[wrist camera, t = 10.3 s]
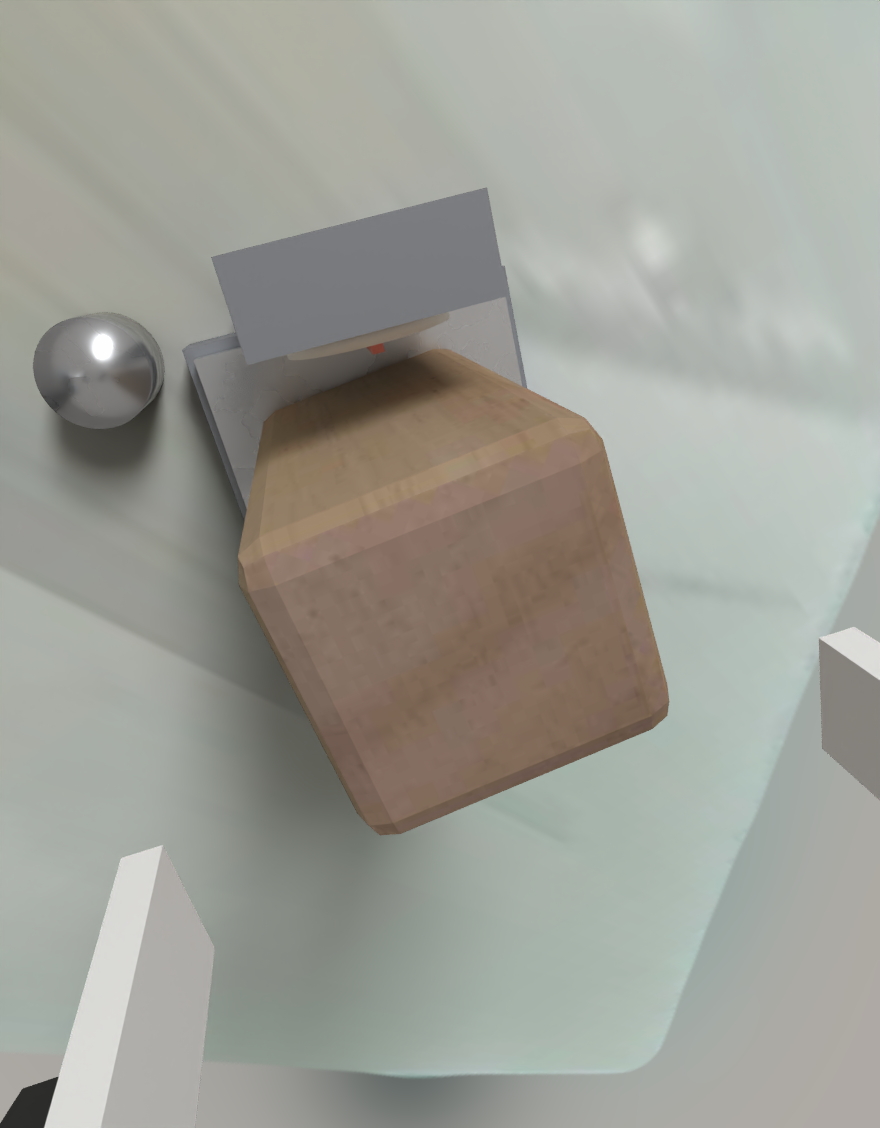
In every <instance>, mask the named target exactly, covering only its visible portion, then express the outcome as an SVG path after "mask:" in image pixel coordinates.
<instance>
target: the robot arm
mask: <svg viewBox="0 0 880 1128" xmlns="http://www.w3.org/2000/svg"><path fill="white" fill-rule="evenodd" d="M819 659H820V690H821V720H822V721H821V724H822V749H823V750H824V751H826V752H827V753H828V754H829V755H830V756H831V757H832V758H833V759H834V760H836V761H837V762H838V763H839V764H840V765H841V766H842V767H843V768H844V769H845V770H847V771H848V772H849V773H850V774H851V775H852V776H853V777H854V778H856V779H857V780H858V781H859V782H860V783H861V784H862V785H864V786H865V787H866V788H867V789H868V790H869V791H870V792H871V793H872V794H874V796H876V797H877V798H878V799H879V800H880V643H879V642H877V641H876V640H874V639H873V638H871V637H869V636H868V635H866V634H864V633H863V632H862V631H860V630H858V629H857V628H855V627H852V628H849V629H846V630H843V631H840V632H836V633H833V634H830V635H827V636H824V637H820V638H819ZM214 951H215V948H214V946H213V944H212V942H211V940H210V938H209V936H208V934H207V932H206V930H205V928H204V926H203V924H202V922H201V920H200V918H199V916H198V914H197V912H196V910H195V908H194V906H193V904H192V902H191V900H190V898H189V896H188V894H187V892H186V890H185V888H184V886H183V884H182V882H181V880H180V878H179V876H178V874H177V872H176V870H175V868H174V866H173V864H172V862H171V860H170V858H169V856H168V854H167V852H166V850H165V848H164V846H163V845H161V846H158V847H155V848H151V849H148V850H145V851H142V852H139V853H136V854H132V855H129V856H126V857H123V858H121V861H120V864H119V868H118V871H117V875H116V878H115V882H114V885H113V889H112V892H111V896H110V899H109V903H108V906H107V910H106V913H105V917H104V920H103V924H102V927H101V931H100V934H99V938H98V941H97V945H96V948H95V952H94V955H93V959H92V962H91V966H90V969H89V973H88V976H87V980H86V983H85V987H84V990H83V994H82V997H81V1001H80V1004H79V1008H78V1011H77V1015H76V1018H75V1022H74V1025H73V1029H72V1032H71V1036H70V1039H69V1043H68V1046H67V1050H66V1053H65V1057H64V1060H63V1064H62V1067H61V1071H60V1074H59V1077H56V1078H53V1079H50V1080H47V1081H44V1082H41V1083H38V1084H35V1085H32V1086H29V1087H26V1088H23V1089H22V1090H21V1092H20V1094H19V1095H18V1097H17V1098H16V1100H15V1101H14V1103H13V1104H12V1106H11V1108H10V1109H9V1111H8V1112H7V1114H6V1116H5V1117H4V1118H3V1120H2V1122H1V1123H0V1128H195V1125H196V1116H197V1107H198V1098H199V1089H200V1079H201V1070H202V1061H203V1052H204V1043H205V1034H206V1025H207V1015H208V1006H209V997H210V988H211V979H212V970H213V961H214Z"/></svg>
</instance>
